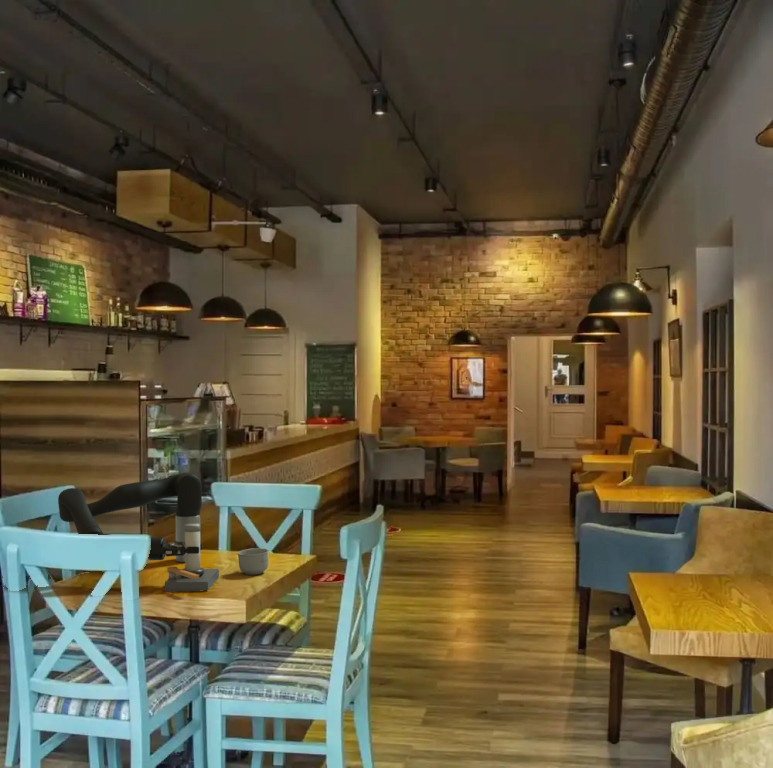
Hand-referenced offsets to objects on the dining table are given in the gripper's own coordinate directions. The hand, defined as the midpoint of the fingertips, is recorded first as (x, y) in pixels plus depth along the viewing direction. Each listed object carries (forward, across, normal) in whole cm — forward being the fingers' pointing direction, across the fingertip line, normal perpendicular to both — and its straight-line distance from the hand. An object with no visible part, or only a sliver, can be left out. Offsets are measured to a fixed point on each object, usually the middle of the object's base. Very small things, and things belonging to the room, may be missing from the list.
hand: (200, 548), depth 292 cm
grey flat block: (-3, 0, -12) cm, 12 cm away
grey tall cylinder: (-3, 0, -12) cm, 12 cm away
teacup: (+15, -18, -12) cm, 27 cm away
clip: (-4, +9, -7) cm, 12 cm away
